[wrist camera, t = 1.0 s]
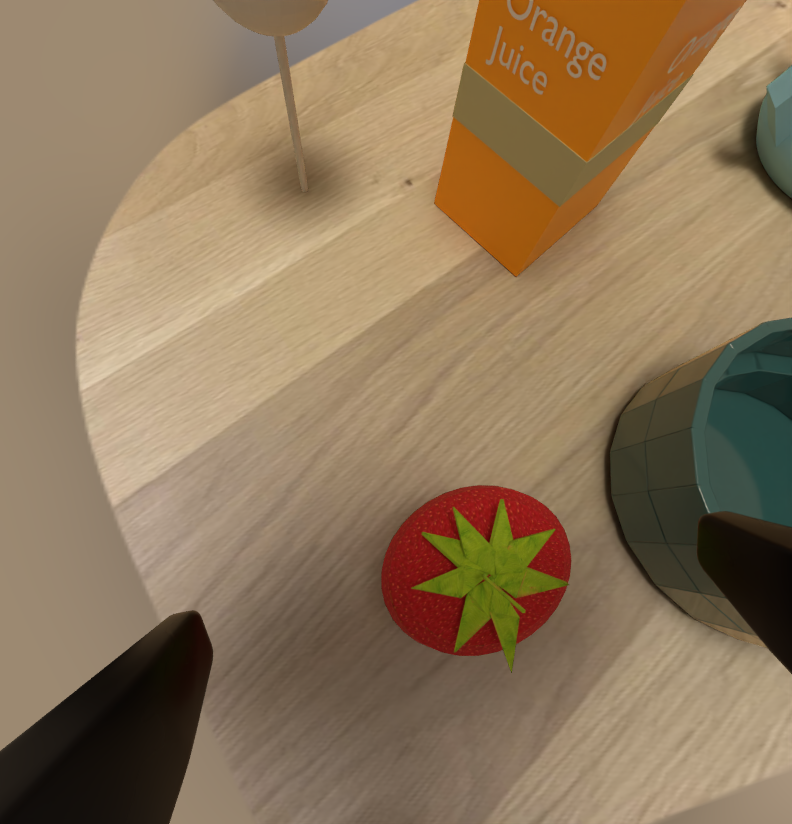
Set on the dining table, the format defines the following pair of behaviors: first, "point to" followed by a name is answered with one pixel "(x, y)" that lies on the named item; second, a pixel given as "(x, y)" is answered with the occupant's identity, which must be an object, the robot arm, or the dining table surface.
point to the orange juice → (562, 109)
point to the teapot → (777, 131)
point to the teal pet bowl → (706, 461)
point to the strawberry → (476, 571)
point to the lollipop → (278, 44)
